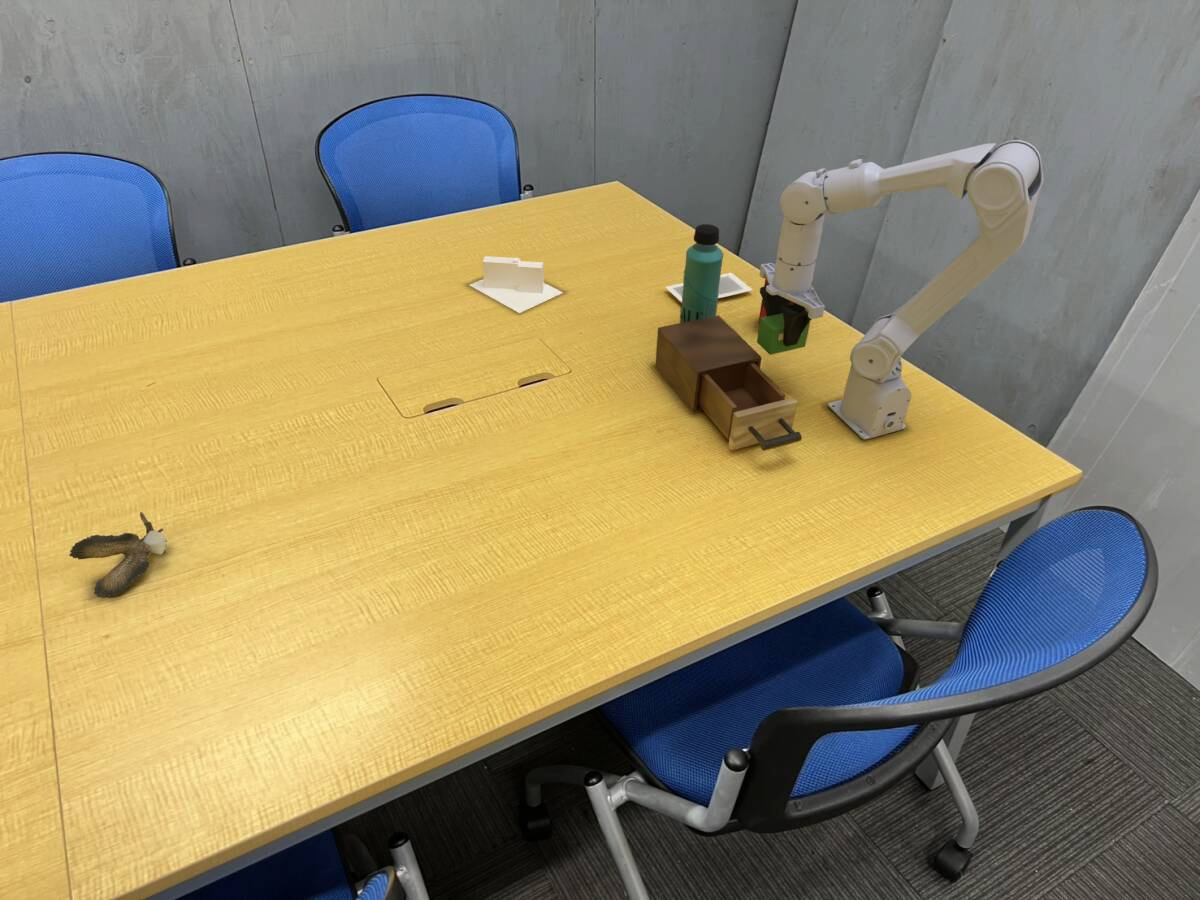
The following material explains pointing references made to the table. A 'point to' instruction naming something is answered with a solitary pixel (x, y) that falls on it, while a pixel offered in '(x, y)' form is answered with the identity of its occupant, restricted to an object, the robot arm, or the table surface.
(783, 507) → the table surface
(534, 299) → the napkin holder
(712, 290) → the beverage bottle
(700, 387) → the drawer
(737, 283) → the touchpad
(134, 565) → the eagle figurine
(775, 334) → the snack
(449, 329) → the table surface
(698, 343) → the cabinet
